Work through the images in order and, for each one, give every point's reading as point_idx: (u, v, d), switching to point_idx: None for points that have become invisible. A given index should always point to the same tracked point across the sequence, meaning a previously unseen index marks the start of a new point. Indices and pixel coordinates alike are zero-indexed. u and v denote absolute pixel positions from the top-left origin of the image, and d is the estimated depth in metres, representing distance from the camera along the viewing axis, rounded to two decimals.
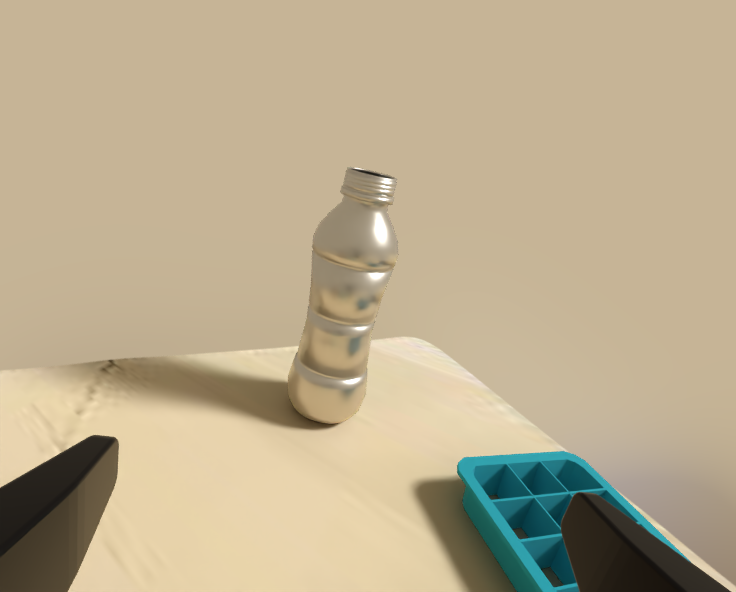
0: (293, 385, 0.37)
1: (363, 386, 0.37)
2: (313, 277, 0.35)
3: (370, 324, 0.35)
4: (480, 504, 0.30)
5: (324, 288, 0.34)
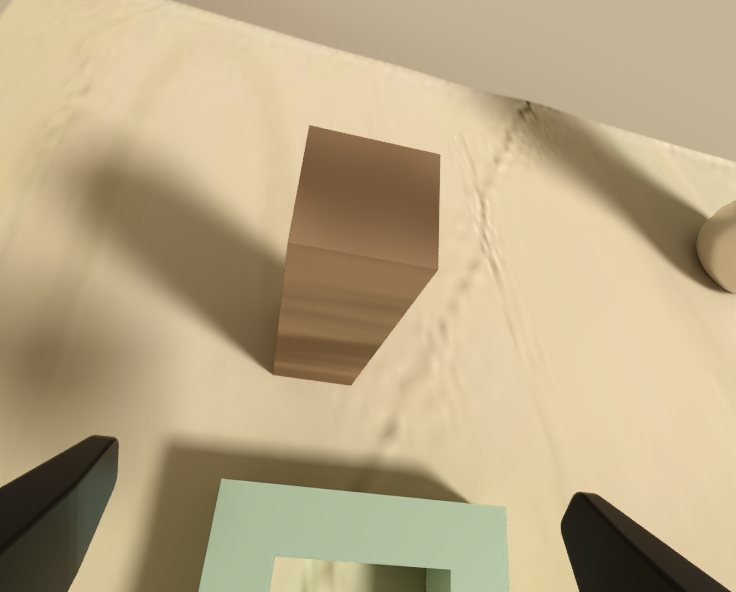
0: (719, 234, 0.30)
1: None
2: None
3: None
4: None
5: None
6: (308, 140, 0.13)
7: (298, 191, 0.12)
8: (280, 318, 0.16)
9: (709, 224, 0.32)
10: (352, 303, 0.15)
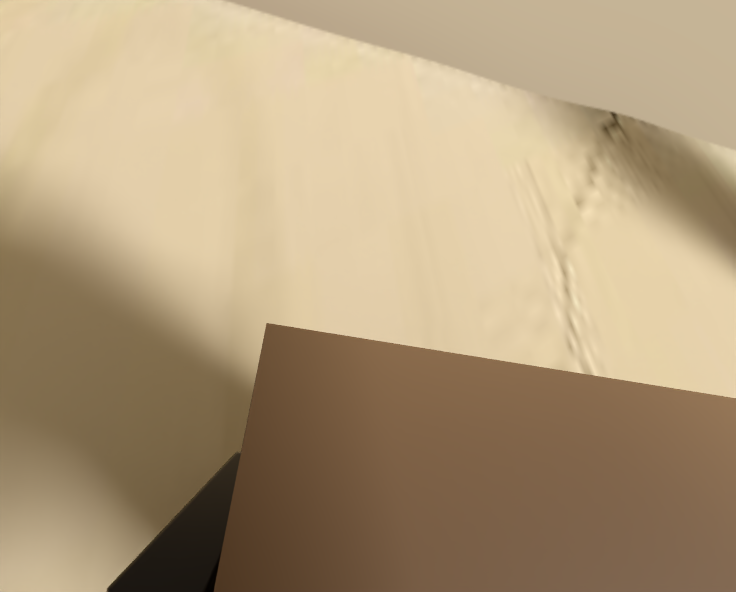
0: None
1: None
2: None
3: None
4: None
5: None
6: (258, 406, 0.03)
7: None
8: None
9: None
10: None
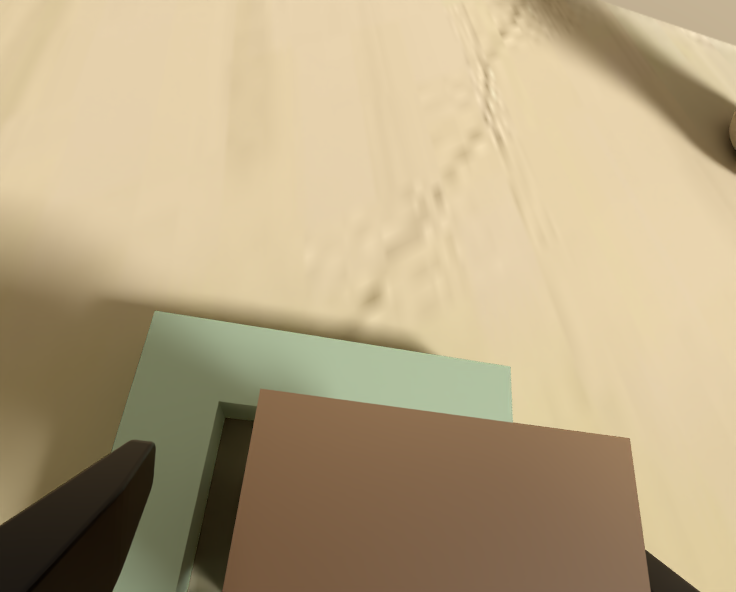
0: None
1: None
2: None
3: None
4: None
5: None
6: (254, 451, 0.04)
7: None
8: None
9: None
10: None
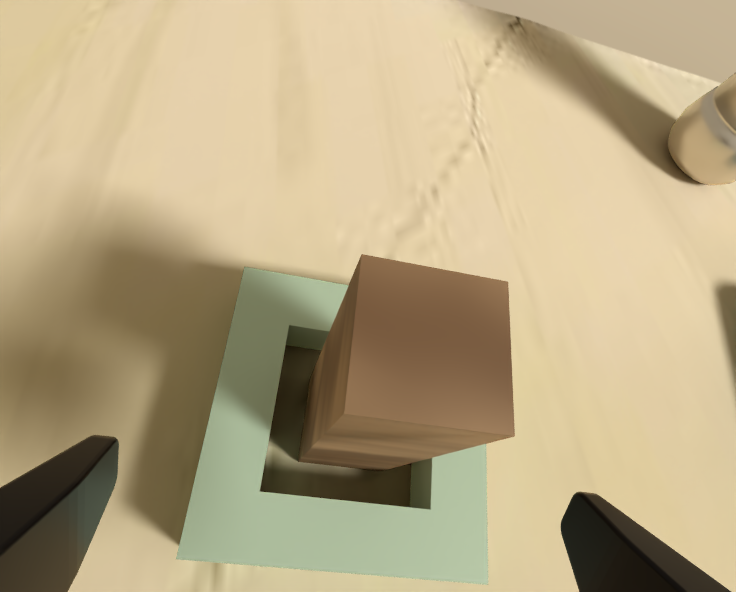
0: (686, 124, 0.34)
1: None
2: None
3: None
4: None
5: None
6: (361, 274, 0.12)
7: (353, 343, 0.11)
8: (318, 442, 0.15)
9: (678, 119, 0.35)
10: (404, 442, 0.13)
